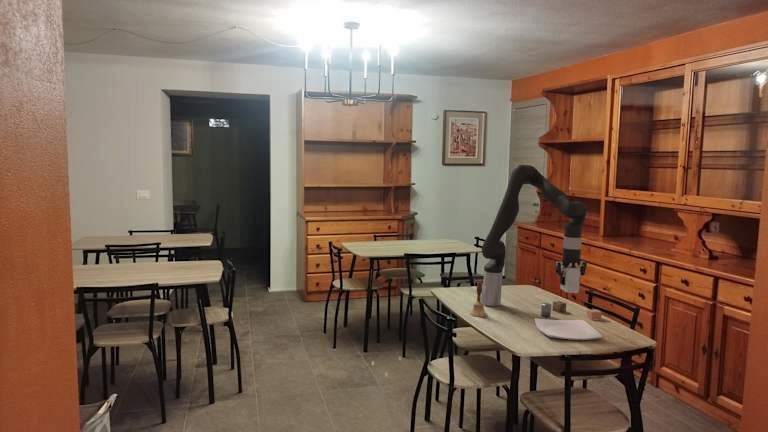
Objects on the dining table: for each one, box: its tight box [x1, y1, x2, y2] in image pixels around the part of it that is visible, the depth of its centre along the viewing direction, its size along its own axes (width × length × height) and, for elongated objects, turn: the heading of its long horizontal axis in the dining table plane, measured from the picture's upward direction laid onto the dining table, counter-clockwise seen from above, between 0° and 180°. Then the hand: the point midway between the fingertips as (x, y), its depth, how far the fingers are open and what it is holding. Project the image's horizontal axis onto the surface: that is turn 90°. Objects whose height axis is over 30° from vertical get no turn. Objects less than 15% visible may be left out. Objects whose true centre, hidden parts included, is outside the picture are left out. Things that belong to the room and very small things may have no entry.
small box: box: [560, 265, 581, 294], centre depth 227 cm, size 8×6×10 cm
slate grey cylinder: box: [540, 302, 552, 319], centre depth 247 cm, size 4×4×6 cm
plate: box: [534, 318, 603, 341], centre depth 224 cm, size 24×24×3 cm
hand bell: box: [469, 281, 488, 318], centre depth 246 cm, size 8×8×16 cm
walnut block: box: [552, 300, 567, 314], centre depth 256 cm, size 4×4×4 cm
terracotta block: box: [586, 309, 603, 321], centre depth 245 cm, size 5×4×4 cm
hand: (569, 284), depth 227 cm, fingers closed on small box, 6 cm apart
